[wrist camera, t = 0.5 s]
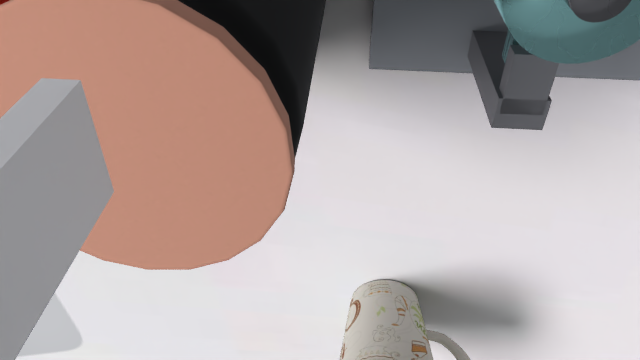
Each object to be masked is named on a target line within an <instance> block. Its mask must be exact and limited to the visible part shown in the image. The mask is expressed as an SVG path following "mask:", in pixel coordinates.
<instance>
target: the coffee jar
mask: <svg viewBox="0 0 640 360" xmlns="http://www.w3.org/2000/svg"><path fill="white" fill-rule="evenodd" d="M325 2H326V0H9V1H7V2H5V3H3V4H1V5H0V118H1V117H2V116H3V115H4V114H5V113H6V112H7V111H8V110H9V109H10V108H11V107H12V106H13V105H14V104H15V103H16V102H18V101H19V100H20V99H21V98H22V97H23V96H24V95H25V94H26V93H27V92H28V91H29V90H30V89H31V88H32V87H33V86H34V85H35V84H36V83H37V82H38V81H39V80H40V79H41V78H48V79H69V80H81V83H82V86H83V90H84V93H85V96H86V99H87V103H88V106H89V109H90V113H91V116H92V119H93V123H94V126H95V129H96V133H97V136H98V139H99V143H100V146H101V149H102V153H103V156H104V159H105V163H106V166H107V169H108V173H109V176H110V179H111V183H112V186H113V189H114V193H113V194H112V196H111V198H110V199H109V201H108V203H107V204H106V206H105V208H104V210H103V211H102V213H101V215H100V216H99V218H98V220H97V221H96V223H95V225H94V226H93V228H92V230H91V232H90V233H89V235H88V237H87V238H86V240H85V242H84V243H83V245H82V247H81V249H80V251H83V252H85V253H87V254H90V255H92V256H95V257H97V258H99V259H102V260H105V261H109V262H114V263H119V264H124V265H129V266H133V267H138V268H143V269H194V268H198V267H202V266H206V265H210V264H214V263H218V262H222V261H226V260H229V259H231V258H232V257H234V256H236V255H237V254H239V253H241V252H242V251H244V250H245V249H247V248H249V247H250V246H252V245H254V244H255V243H257V242H259V241H260V240H261V239H262V238H263V237H264V235H265V234H266V233H267V231H268V230H269V229H270V228H271V226H272V225H273V224H274V222H275V221H276V220H277V219H278V217H279V216H280V215H281V213H282V212H283V211H284V209H285V205H286V202H287V198H288V194H289V190H290V186H291V182H292V178H293V175H294V165H295V156H296V152H297V148H298V144H299V140H300V136H301V132H302V128H303V124H304V118H305V113H306V107H307V101H308V96H309V90H310V85H311V79H312V74H313V68H314V63H315V57H316V52H317V46H318V41H319V35H320V30H321V24H322V19H323V13H324V8H325Z"/></svg>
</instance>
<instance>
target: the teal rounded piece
mask: <svg viewBox="0 0 640 360" xmlns="http://www.w3.org/2000/svg"><path fill="white" fill-rule="evenodd" d="M493 1H494V2H495V4H496V6H497V8H498V10H499V12H500V14H501V16H502V18H503V20H504V22H505V23H506V25H507V27H508V33H507V37H506V41H505V45H504V49H503V53H502V58H503V60H504V62H506V58H507V54H508V50H509V46H510V45H521V46H522V47H523V48H524V49H525V50H527V51H528V52H529V53H531V54H533V55H535V56H536V57H539V58H541V59H544V60H547V61H551V62H555V63H564V64H578V63H586V62H591V61H595V60H599V59H602V58H605V57H608V56H611V55H613V54H615V53H618V52H620V51H622V50H624V49H625V48H627V47H629V46H631V45H632V44H634V43H635V42H637V41H638V40H640V0H493Z"/></svg>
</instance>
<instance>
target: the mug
mask: <svg viewBox="0 0 640 360" xmlns="http://www.w3.org/2000/svg"><path fill="white" fill-rule="evenodd" d="M428 340H431V341H435V342H438V343H440V344H442V345H443V346H444V347H446V348H447V349H448V350H449V351H450V352H451V353H452V354H453V355H454V356H455V358H456V359H457V360H470V358H469V357H468V355H467V354H466V353H465V351H464V350H463V349H462V348H461V347H460V346H459V345H457V344H456V343H455V342H454V341H453V340H451V339H450V338H449V337H447V336H446V335H444V334H442V333H439V332H435V331H430V330H426V329H425V325H424V321H423V317H422V313H421V309H420V305H419V301H418V298H417V296H416V294H415V292H414V291H413V290H412V289H411V288H410V287H408V286H407V285H405V284H403V283H400V282H397V281H392V280H376V281H371V282H368V283H366V284H364V285H362V286H360V287H359V288H358V289H357V290H356V291H355V292H354V294H353V296H352V298H351V303H350V307H349V313H348V318H347V323H346V328H345V334H344V339H343V344H342V349H341V355H340V360H433V356H432V352H431V348H430V345H429V341H428Z"/></svg>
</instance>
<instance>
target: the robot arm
mask: <svg viewBox="0 0 640 360" xmlns="http://www.w3.org/2000/svg"><path fill="white" fill-rule="evenodd" d="M113 193H114V189H113V186H112V183H111V179H110V176H109V173H108V169H107V166H106V163H105V159H104V156H103V153H102V149H101V146H100V143H99V139H98V136H97V133H96V129H95V126H94V123H93V119H92V116H91V113H90V109H89V106H88V103H87V99H86V96H85V93H84V90H83V86H82V83H81V80H69V79H48V78H41V79H40V80H39V81H38V82H37V83H36V84H35V85H34V86H33V87H32V88H31V89H30V90H29V91H28V92H27V93H26V94H25V95H24V96H23V97H22V98H21V99H20V100H19V101H18V102H16V103H15V104H14V105H13V106H12V107H11V108H10V109H9V110H8V111H7V112H6V113H5V114H4V115H3V116H2V117H1V118H0V360H15V359H16V357H17V355H18V354H19V352H20V350H21V348H22V347H23V345H24V343H25V341H26V340H27V338H28V337H29V335H30V333H31V332H32V330H33V328H34V326H35V325H36V323H37V321H38V320H39V318H40V316H41V315H42V313H43V311H44V309H45V308H46V306H47V304H48V303H49V301H50V299H51V297H52V296H53V294H54V293H55V291H56V289H57V287H58V286H59V284H60V282H61V281H62V279H63V277H64V276H65V274H66V272H67V271H68V269H69V267H70V265H71V264H72V262H73V260H74V259H75V257H76V255H77V254H78V252H79V250H80V249H81V247H82V245H83V243H84V242H85V240H86V238H87V237H88V235H89V233H90V232H91V230H92V228H93V226H94V225H95V223H96V221H97V220H98V218H99V216H100V215H101V213H102V211H103V210H104V208H105V206H106V204H107V203H108V201H109V199H110V198H111V196H112V194H113Z"/></svg>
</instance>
